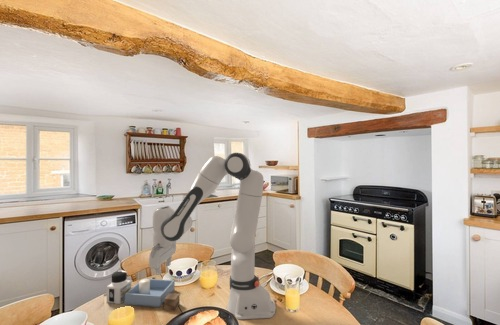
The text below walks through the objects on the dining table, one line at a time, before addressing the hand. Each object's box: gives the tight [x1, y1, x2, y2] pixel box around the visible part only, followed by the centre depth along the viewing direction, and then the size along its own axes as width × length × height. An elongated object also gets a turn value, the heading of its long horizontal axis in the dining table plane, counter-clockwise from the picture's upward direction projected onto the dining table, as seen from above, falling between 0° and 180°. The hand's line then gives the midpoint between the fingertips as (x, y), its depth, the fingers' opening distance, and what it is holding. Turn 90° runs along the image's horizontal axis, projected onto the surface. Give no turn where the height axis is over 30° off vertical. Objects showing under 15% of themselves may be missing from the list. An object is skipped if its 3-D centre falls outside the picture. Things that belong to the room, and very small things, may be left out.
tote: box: [124, 278, 176, 308], centre depth 121 cm, size 18×16×5 cm
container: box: [106, 270, 132, 305], centre depth 119 cm, size 8×8×13 cm
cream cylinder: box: [138, 278, 151, 295], centre depth 121 cm, size 5×5×7 cm
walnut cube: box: [163, 292, 180, 311], centre depth 113 cm, size 5×5×5 cm
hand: (163, 269), depth 116 cm, fingers open, 8 cm apart
